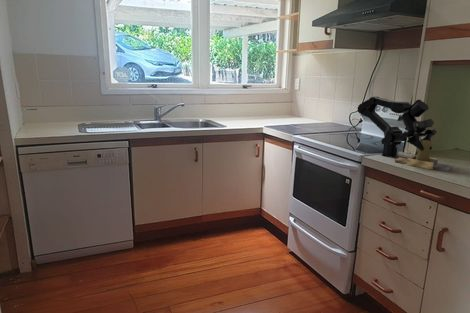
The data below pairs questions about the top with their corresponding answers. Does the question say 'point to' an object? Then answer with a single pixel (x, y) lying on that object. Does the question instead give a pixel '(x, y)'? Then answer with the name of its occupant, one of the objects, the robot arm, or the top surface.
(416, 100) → the robot arm
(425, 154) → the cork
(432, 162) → the wooden tray
